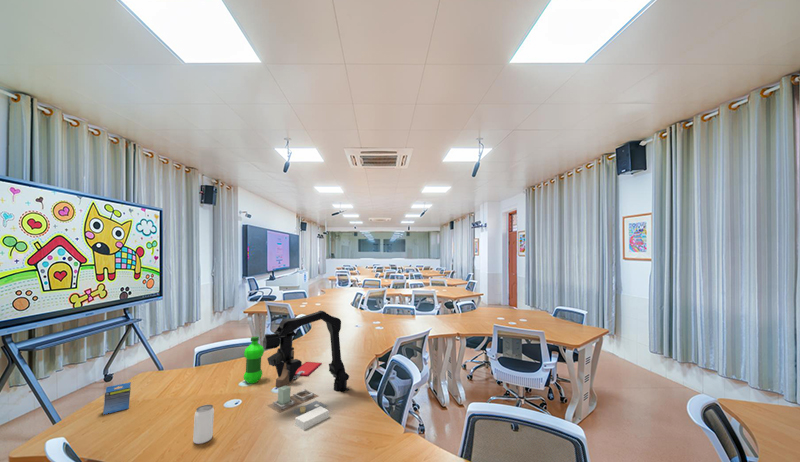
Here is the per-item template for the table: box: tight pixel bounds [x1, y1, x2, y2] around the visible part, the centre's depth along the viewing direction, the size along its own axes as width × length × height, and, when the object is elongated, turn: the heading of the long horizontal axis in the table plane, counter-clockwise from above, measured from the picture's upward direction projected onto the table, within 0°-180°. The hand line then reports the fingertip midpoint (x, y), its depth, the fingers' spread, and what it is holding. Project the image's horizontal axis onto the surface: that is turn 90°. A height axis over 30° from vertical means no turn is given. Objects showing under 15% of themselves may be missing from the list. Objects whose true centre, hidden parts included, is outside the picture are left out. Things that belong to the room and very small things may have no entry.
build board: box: [267, 389, 319, 414], centre depth 152 cm, size 22×11×2 cm, turn 142°
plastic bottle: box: [243, 335, 265, 384], centre depth 178 cm, size 10×10×25 cm
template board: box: [291, 400, 328, 417], centre depth 144 cm, size 14×9×3 cm, turn 142°
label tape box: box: [102, 381, 132, 415], centre depth 144 cm, size 9×4×12 cm, turn 135°
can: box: [192, 404, 215, 445], centre depth 122 cm, size 6×6×12 cm
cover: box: [294, 406, 330, 431], centre depth 134 cm, size 13×6×4 cm, turn 142°
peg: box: [277, 385, 291, 405], centre depth 148 cm, size 4×4×8 cm
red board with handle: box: [293, 361, 323, 381], centre depth 194 cm, size 30×3×15 cm
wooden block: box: [275, 350, 295, 388], centre depth 174 cm, size 9×4×18 cm, turn 157°
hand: (284, 379), depth 149 cm, fingers open, 9 cm apart
